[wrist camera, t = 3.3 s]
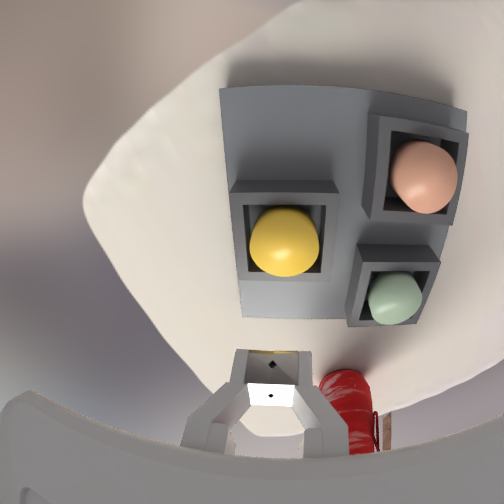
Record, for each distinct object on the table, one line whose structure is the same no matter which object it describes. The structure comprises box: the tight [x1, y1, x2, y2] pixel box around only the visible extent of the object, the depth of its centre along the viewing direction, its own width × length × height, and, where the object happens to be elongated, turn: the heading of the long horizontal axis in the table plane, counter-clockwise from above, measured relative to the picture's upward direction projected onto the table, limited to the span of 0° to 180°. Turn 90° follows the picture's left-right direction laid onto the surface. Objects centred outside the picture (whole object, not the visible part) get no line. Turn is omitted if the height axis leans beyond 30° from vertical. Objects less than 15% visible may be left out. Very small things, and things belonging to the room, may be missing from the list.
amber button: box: [250, 205, 319, 277], centre depth 18 cm, size 4×4×2 cm
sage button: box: [367, 271, 422, 325], centre depth 20 cm, size 4×4×2 cm
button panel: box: [219, 85, 469, 327], centre depth 19 cm, size 18×20×4 cm
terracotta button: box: [388, 139, 457, 214], centre depth 14 cm, size 4×4×2 cm
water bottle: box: [318, 370, 391, 456], centre depth 24 cm, size 12×8×25 cm, turn 86°
